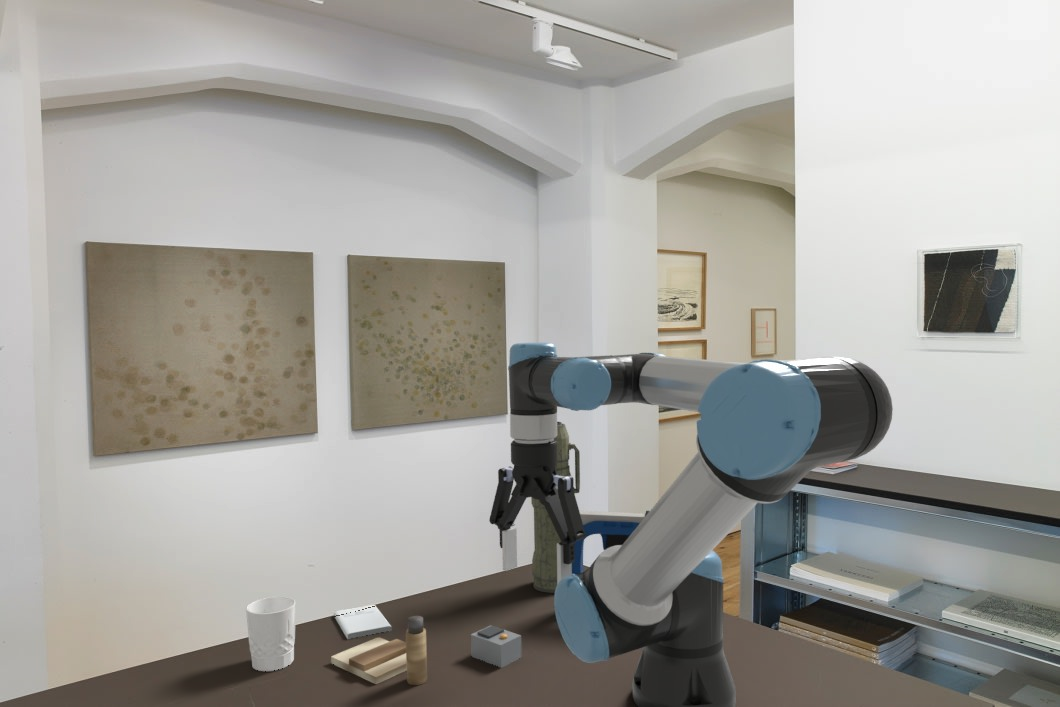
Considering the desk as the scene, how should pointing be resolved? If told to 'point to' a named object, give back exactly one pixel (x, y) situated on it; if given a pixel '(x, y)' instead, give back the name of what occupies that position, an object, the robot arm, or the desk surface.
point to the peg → (416, 651)
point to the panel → (374, 659)
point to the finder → (496, 646)
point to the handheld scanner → (605, 531)
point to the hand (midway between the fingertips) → (536, 575)
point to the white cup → (271, 632)
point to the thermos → (543, 526)
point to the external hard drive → (362, 621)
